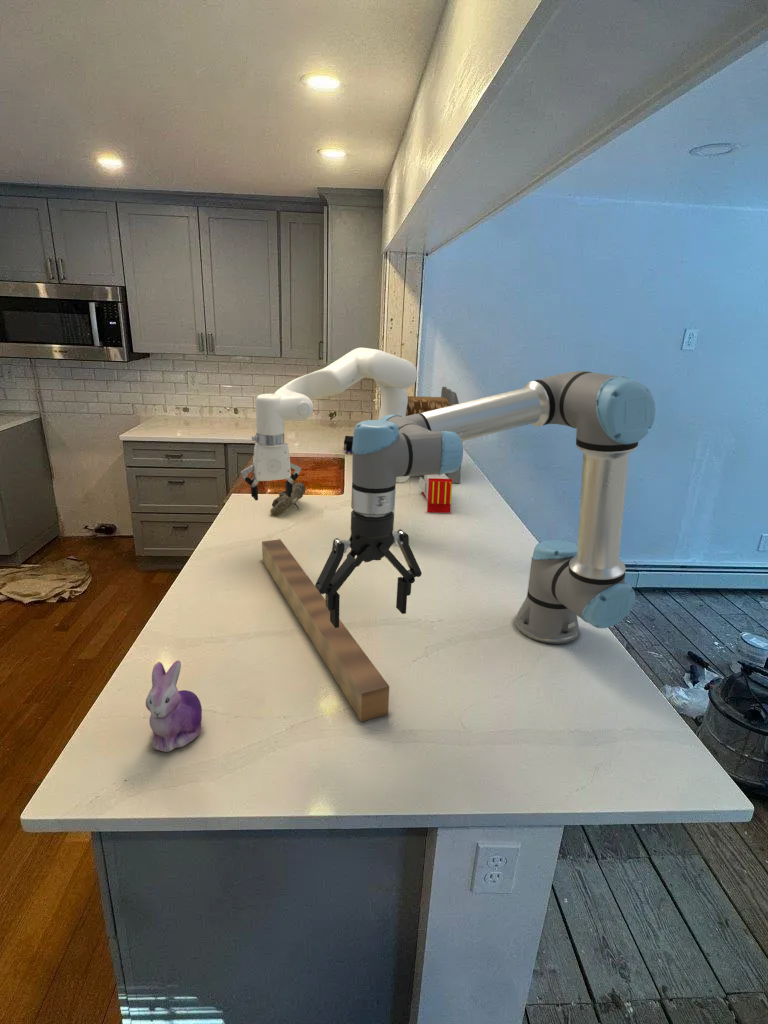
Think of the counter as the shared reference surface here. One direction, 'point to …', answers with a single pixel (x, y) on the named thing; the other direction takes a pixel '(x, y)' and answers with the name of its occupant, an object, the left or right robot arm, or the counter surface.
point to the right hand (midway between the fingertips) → (368, 617)
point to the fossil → (287, 499)
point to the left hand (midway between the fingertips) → (272, 497)
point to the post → (328, 635)
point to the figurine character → (348, 444)
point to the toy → (437, 492)
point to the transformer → (433, 403)
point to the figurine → (172, 710)
